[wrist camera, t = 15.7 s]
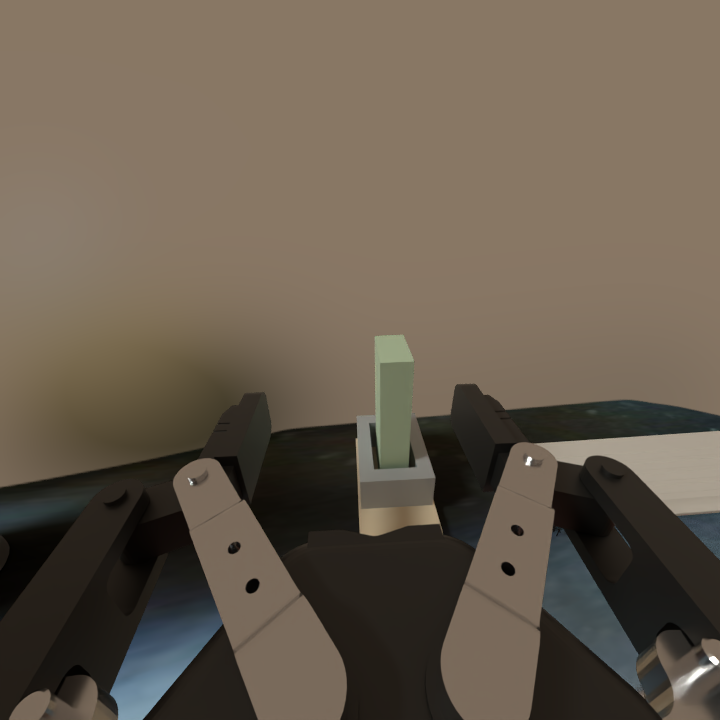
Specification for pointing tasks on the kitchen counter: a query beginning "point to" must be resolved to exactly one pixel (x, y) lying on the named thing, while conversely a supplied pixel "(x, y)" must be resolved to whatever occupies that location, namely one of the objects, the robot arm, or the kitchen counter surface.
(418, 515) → the board
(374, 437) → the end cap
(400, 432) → the slat
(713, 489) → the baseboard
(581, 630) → the kitchen counter surface
